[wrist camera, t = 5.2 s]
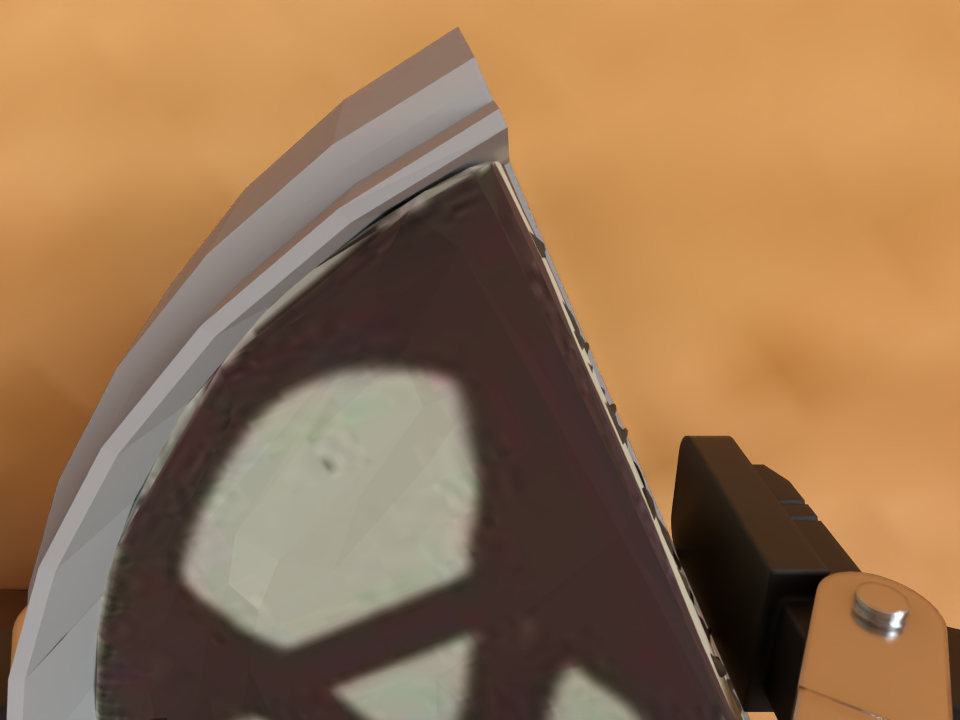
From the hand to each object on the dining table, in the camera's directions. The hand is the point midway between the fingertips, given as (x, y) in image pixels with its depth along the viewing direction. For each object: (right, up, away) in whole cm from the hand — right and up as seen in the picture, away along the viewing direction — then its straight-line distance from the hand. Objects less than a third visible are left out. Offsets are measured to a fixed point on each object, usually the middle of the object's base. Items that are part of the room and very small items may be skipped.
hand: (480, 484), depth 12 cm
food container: (0, +1, +3) cm, 3 cm away
